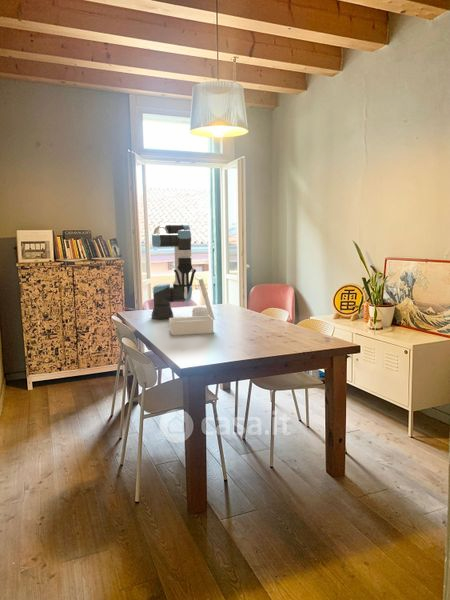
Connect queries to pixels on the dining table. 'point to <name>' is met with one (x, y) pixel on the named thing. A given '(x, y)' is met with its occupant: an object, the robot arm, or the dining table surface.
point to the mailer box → (190, 325)
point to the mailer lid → (205, 297)
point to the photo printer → (199, 312)
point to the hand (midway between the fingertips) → (185, 298)
